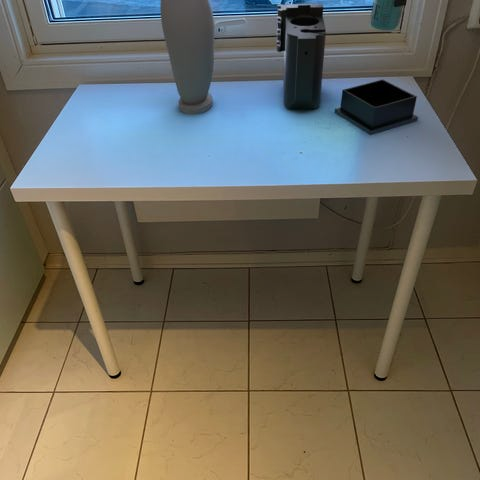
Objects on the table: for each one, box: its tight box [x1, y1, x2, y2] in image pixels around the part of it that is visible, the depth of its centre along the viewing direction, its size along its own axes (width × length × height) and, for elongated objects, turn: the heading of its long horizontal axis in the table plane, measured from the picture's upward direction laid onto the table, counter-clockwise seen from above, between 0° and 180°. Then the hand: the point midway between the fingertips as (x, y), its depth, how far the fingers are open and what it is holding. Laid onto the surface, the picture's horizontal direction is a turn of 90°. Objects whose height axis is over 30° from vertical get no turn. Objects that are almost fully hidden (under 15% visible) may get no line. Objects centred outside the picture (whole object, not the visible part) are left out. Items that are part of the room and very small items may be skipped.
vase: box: [159, 0, 215, 115], centre depth 130 cm, size 13×13×35 cm
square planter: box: [334, 78, 419, 136], centre depth 132 cm, size 15×15×6 cm
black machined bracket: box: [276, 3, 327, 110], centre depth 136 cm, size 12×21×22 cm, turn 177°
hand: (389, 1), depth 113 cm, fingers closed on beverage bottle, 6 cm apart
